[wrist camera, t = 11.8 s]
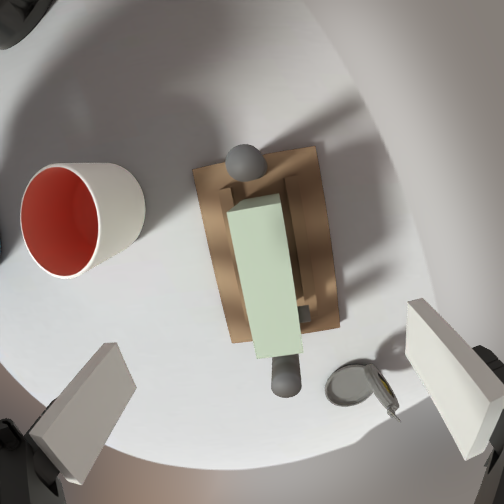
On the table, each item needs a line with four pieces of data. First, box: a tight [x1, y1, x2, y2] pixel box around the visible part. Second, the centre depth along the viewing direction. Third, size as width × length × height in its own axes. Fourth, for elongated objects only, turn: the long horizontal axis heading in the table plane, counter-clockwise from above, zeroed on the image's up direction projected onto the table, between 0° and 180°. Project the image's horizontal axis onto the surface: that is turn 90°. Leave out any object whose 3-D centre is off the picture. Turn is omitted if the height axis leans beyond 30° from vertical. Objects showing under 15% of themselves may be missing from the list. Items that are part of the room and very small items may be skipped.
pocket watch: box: [325, 364, 401, 422], centre depth 30 cm, size 8×8×10 cm
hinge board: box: [192, 144, 340, 398], centre depth 26 cm, size 19×12×11 cm, turn 11°
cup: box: [20, 163, 145, 279], centre depth 27 cm, size 10×10×10 cm
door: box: [227, 193, 311, 359], centre depth 26 cm, size 11×4×10 cm, turn 10°
